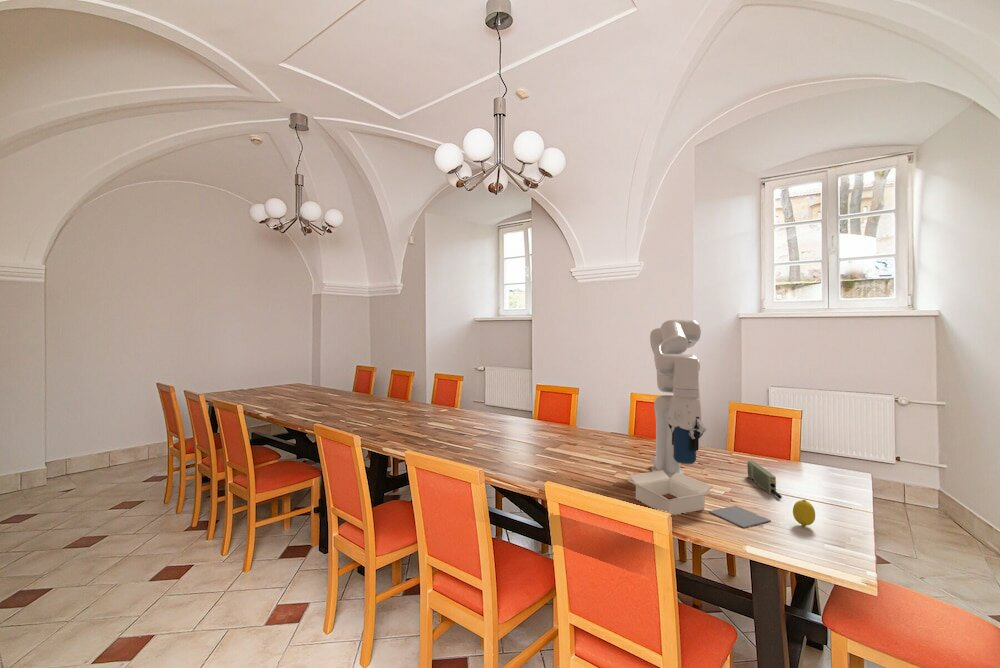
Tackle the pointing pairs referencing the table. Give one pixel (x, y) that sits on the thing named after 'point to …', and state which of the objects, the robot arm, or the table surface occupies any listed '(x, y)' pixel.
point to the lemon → (804, 513)
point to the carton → (670, 491)
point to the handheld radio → (762, 478)
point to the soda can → (683, 446)
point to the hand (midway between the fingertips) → (684, 447)
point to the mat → (739, 516)
